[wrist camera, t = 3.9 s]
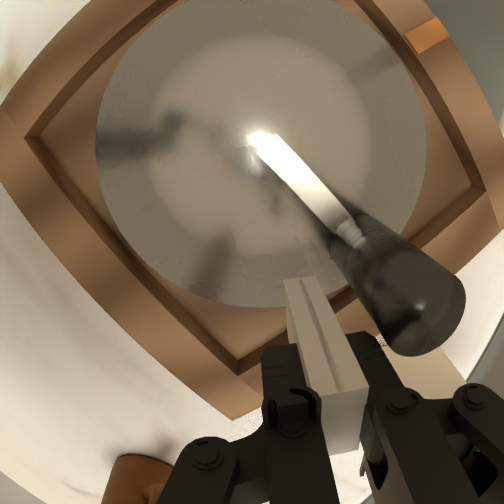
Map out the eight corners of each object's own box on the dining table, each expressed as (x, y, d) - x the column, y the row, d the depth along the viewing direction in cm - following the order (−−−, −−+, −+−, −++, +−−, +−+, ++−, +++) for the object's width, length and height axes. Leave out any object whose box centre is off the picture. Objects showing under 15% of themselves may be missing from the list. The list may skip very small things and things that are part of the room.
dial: (54, 157, 14) (-57, 183, 7) (264, -50, 11) (276, -150, 3) (260, 346, 18) (268, 461, 11) (460, 161, 15) (569, 189, 7)
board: (6, 140, 15) (-25, 144, 12) (290, -88, 11) (296, -115, 8) (233, 391, 22) (232, 423, 19) (498, 194, 17) (527, 205, 14)
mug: (134, 422, 23) (107, 510, 14) (213, 452, 25) (206, 539, 16) (109, 469, 27) (89, 534, 18) (170, 492, 28) (160, 558, 19)
